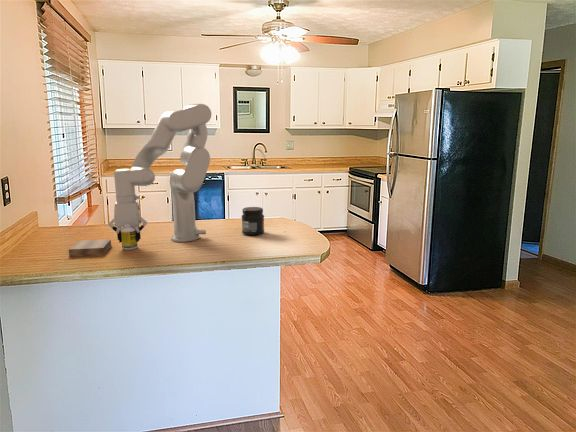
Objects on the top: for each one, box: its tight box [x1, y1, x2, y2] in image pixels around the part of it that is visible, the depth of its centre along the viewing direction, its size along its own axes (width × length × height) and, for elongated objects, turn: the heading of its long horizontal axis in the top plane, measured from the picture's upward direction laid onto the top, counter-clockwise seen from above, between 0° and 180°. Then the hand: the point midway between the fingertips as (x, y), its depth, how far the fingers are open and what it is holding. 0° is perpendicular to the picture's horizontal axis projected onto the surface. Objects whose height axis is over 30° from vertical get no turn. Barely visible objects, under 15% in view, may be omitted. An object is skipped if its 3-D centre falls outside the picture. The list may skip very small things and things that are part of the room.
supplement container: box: [241, 206, 265, 237], centre depth 212 cm, size 10×10×12 cm
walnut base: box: [68, 239, 112, 258], centre depth 185 cm, size 13×13×3 cm
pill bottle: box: [121, 224, 139, 251], centre depth 189 cm, size 6×6×11 cm
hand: (129, 240), depth 189 cm, fingers closed on pill bottle, 6 cm apart
